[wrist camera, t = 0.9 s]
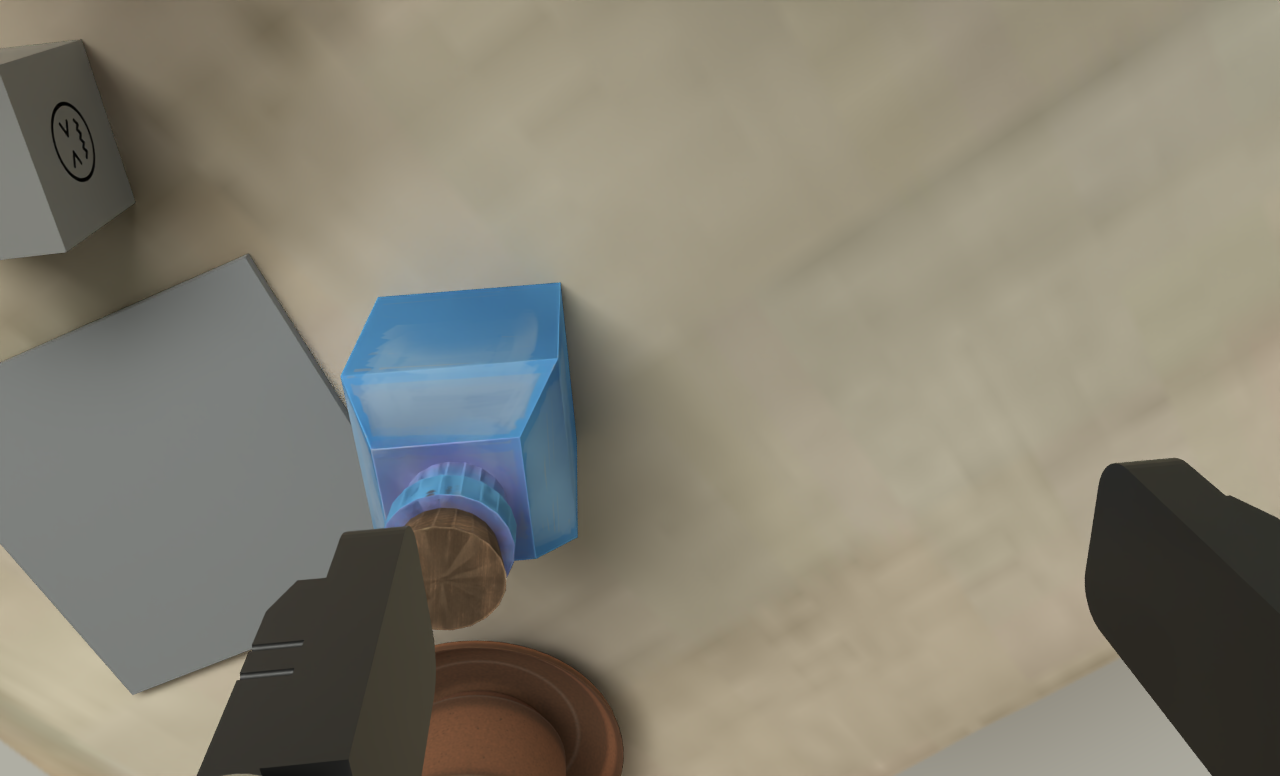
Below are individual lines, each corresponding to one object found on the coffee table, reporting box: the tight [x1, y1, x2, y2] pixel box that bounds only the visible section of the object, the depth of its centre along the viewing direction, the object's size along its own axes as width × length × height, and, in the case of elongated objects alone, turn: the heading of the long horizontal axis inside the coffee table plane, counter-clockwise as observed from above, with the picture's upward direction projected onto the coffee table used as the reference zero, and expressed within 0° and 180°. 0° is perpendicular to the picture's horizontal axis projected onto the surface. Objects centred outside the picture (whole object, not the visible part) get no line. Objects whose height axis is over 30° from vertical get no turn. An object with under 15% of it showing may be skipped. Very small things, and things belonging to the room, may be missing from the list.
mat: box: [0, 254, 374, 695], centre depth 37 cm, size 14×14×1 cm
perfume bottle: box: [341, 283, 578, 630], centre depth 30 cm, size 6×6×12 cm
